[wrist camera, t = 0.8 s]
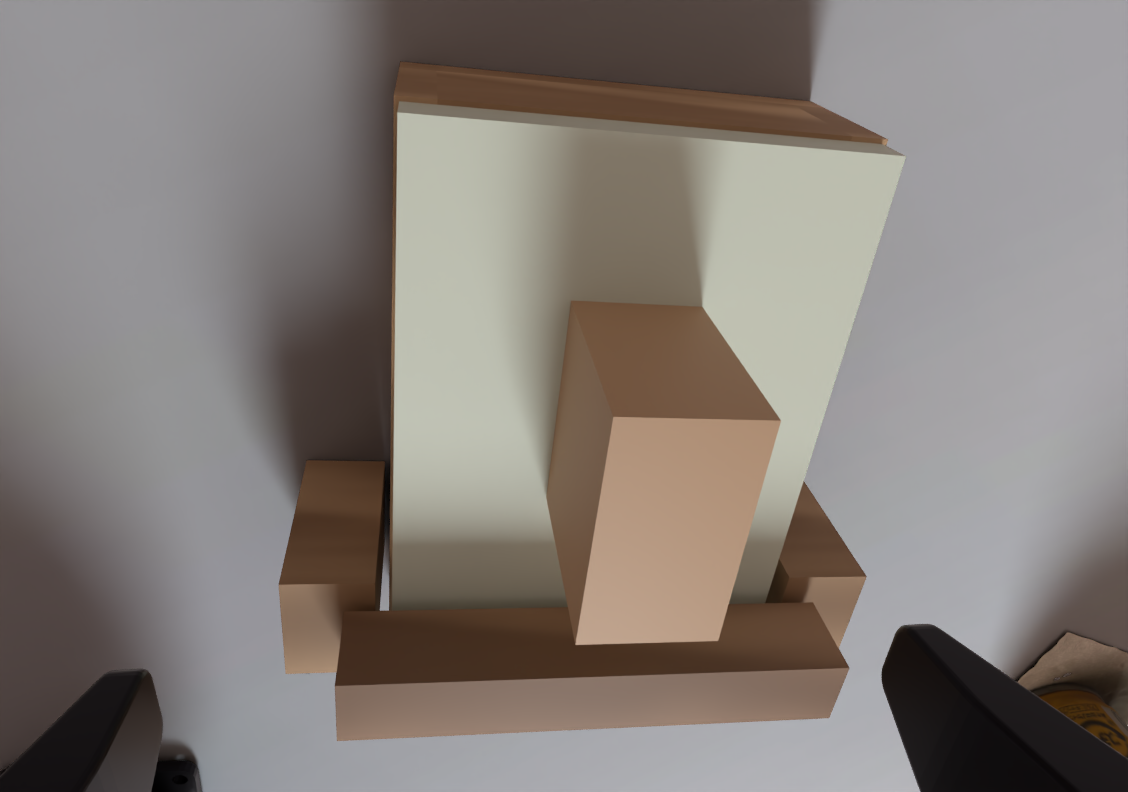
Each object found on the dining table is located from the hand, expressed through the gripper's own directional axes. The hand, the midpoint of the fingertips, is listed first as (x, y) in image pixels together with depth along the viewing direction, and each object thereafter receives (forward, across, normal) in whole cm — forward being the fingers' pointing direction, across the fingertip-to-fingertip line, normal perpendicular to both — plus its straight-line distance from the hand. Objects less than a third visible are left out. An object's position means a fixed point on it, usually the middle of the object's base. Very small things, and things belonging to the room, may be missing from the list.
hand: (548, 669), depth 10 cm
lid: (+9, -3, +3) cm, 10 cm away
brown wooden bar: (+8, -2, +8) cm, 12 cm away
